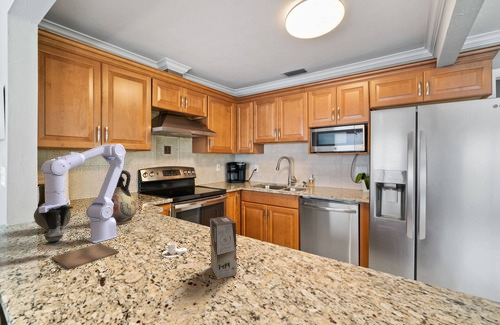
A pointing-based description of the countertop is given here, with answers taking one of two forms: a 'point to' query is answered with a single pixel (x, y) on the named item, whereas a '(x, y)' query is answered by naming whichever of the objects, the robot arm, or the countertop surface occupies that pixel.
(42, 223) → the grey rounded lump
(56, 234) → the dark grey turned piece
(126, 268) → the countertop surface
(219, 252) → the coffee box
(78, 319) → the countertop surface
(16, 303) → the countertop surface
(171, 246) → the teacup and saucer
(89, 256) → the walnut board
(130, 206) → the ceramic jug
